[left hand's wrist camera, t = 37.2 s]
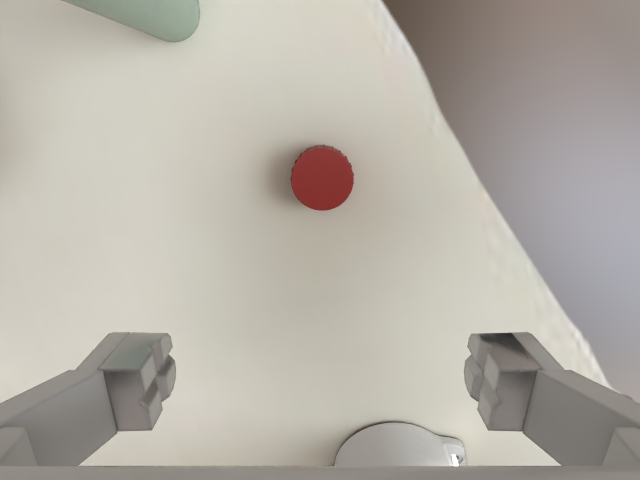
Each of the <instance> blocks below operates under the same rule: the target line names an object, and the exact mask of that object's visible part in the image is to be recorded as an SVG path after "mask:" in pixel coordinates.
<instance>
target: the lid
mask: <svg viewBox="0 0 640 480" xmlns="http://www.w3.org/2000/svg"><path fill="white" fill-rule="evenodd" d="M351 167H352V166H351V164H350V163H349V162H348V160H347V157H346V156H344V155H343V154H342V153H341V151H340V150H339V151H338V150H337V149H335V148H333V147H329V146H325V145H324V146H315V147H312V148H310V149H307V150H306V151H305V152H303V153H301V154H300V157H299V158H298V159H297V160H296V161H295V165H294V167H293V169H292V171H291V172H292V175H291V184H292V189H293V191H294V193H295V195H296V197H297V198H298V199H299V201H300V202H301V203H303V204H304V205H305V206H307V207H309V208H311V209H315V210H330V209H333V208H335V207H337V206H339V205H341V204H342V203H343V202H344V201H345V200H346V199H347V198H348V196H349V194H350V193H351V190H352V187H353V184H354V183H353V176H354V174H353V172H352V169H351Z"/></svg>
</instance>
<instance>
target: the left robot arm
mask: <svg viewBox="0 0 640 480" xmlns="http://www.w3.org/2000/svg"><path fill="white" fill-rule="evenodd" d="M172 347H173V346H172V341H171V336H170V335H169V334H168V333H135V332H132V333H130V332H113V333H110V334H108V335H107V336H106V337H105V338H104V339H103V340H102V341H101V342H100V344H99V345H98V346H97V347H96V348H95V349H94V350H93V351H92V352H91V353H90V354H89V356H88V357H87V358H86V359H85V360H84V361H83V362H82V363H81V364H80V365H79V366H78V367H77V369H76V370H68V371H66V372H64V373H62V374H60V375H58V376H56V377H54V378H52V379H50V380H48V381H46V382H44V383H42V384H40V385H38V386H35V387H33V388H31V389H29V390H27V391H25V392H23V393H21V394H19V395H17V396H15V397H13V398H11V399H9V400H7V401H5V402H3V403H1V404H0V480H640V404H639V403H637V402H635V401H633V400H631V399H629V398H627V397H625V396H623V395H621V394H619V393H617V392H615V391H613V390H611V389H609V388H607V387H604V386H602V385H600V384H598V383H596V382H594V381H592V380H590V379H588V378H586V377H584V376H582V375H580V374H578V373H576V372H574V371H572V370H564V369H563V367H562V366H561V365H560V364H559V363H558V362H557V361H556V360H555V359H554V358H553V357H552V355H551V354H550V353H549V352H548V351H547V350H546V349H545V348H544V347H543V346H542V345H541V344H540V342H539V341H538V340H537V339H536V338H535V337H534V336H533V335H532V334H530V333H528V332H515V333H483V334H471V335H470V337H469V340H468V346H467V347H468V349H469V350H470V352H471V355H470V356H469V357H468V358H467V359H466V360H465V367H464V377H465V384H466V387H467V390H468V392H469V394H470V396H471V397H472V398H473V399H475V400H476V401H478V402H479V403H478V409H477V410H478V412H479V414H480V416H481V418H482V420H483V422H484V423H485V425H486V427H487V429H488V430H493V431H523V434H525V435H526V436H527V437H528V438H529V439H531V440H532V441H533V442H534V443H535V444H537V445H538V446H539V447H540V448H541V449H543V450H544V451H545V452H546V453H548V454H549V455H550V456H551V457H552V458H554V459H555V460H556V461H557V462H558V463H560V464H561V465H562V466H466V459H465V451H464V447H463V444H462V442H461V441H460V440H458V439H455V438H450V437H443V436H438V435H436V434H433V433H432V432H430V431H428V430H426V429H424V428H422V427H419V426H416V425H412V424H407V423H383V424H378V425H374V426H371V427H368V428H365V429H363V430H361V431H359V432H357V433H356V434H354V435H353V436H351V437H350V438H349V439H348V440H347V441H346V442H345V443H344V444H343V445H342V447H341V448H340V450H339V451H338V453H337V456H336V459H335V463H334V466H78V465H79V464H81V463H82V462H83V461H84V460H85V459H87V458H88V457H89V456H90V455H91V454H93V453H94V452H95V451H96V450H97V449H99V448H100V447H101V446H102V445H104V444H105V443H106V442H107V441H108V440H110V439H111V438H112V437H113V436H114V435H116V434H117V431H146V430H152V429H153V427H154V425H155V423H156V422H157V420H158V418H159V416H160V414H161V412H162V410H163V409H162V403H161V402H162V401H164V400H165V399H167V398H168V397H169V396H170V394H171V392H172V390H173V387H174V383H175V378H176V366H175V360H174V359H173V358H172V357H171V356H170V355H169V352H170V350H171V349H172Z"/></svg>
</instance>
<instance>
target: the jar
mask: <svg viewBox="0 0 640 480" xmlns="http://www.w3.org/2000/svg"><path fill="white" fill-rule="evenodd" d="M62 1H65V2H68V3H70V4H73V5H75V6H78V7H80V8H83V9H86V10H88V11H91V12H93V13H96V14H98V15H101V16H104V17H106V18H109V19H111V20H114V21H116V22H119V23H122V24H124V25H127V26H129V27H132V28H134V29H137V30H140V31H142V32H145V33H147V34H150V35H152V36H155V37H158V38H160V39H163V40H165V41H169V42H179V41H183V40H185V39H187V38H188V37H190V36H191V35H192V34H193V32H194V31H195V29H196V27H197V25H198V22H199V16H200V11H199V4H198V1H197V0H62Z"/></svg>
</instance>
